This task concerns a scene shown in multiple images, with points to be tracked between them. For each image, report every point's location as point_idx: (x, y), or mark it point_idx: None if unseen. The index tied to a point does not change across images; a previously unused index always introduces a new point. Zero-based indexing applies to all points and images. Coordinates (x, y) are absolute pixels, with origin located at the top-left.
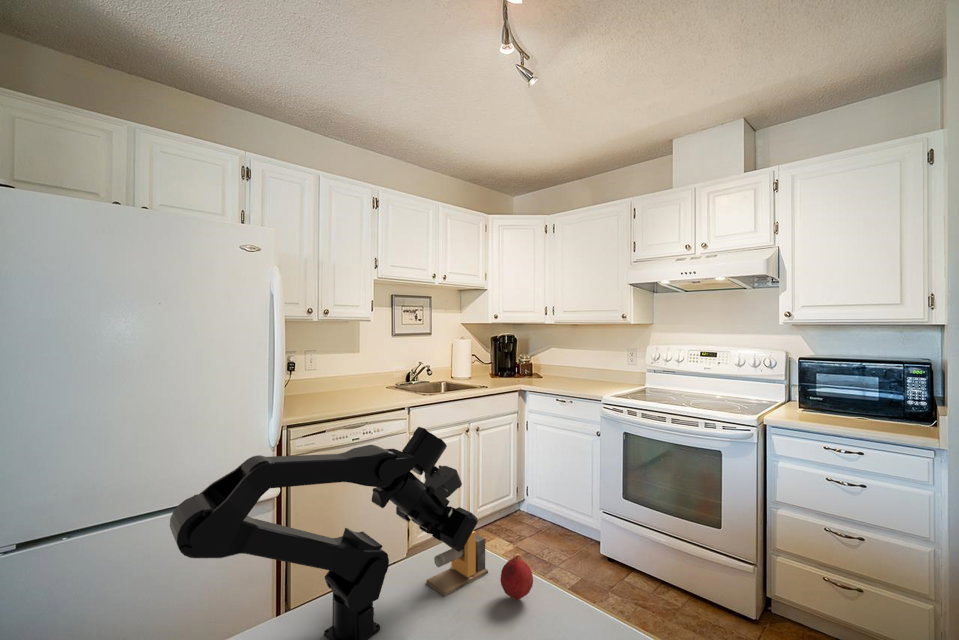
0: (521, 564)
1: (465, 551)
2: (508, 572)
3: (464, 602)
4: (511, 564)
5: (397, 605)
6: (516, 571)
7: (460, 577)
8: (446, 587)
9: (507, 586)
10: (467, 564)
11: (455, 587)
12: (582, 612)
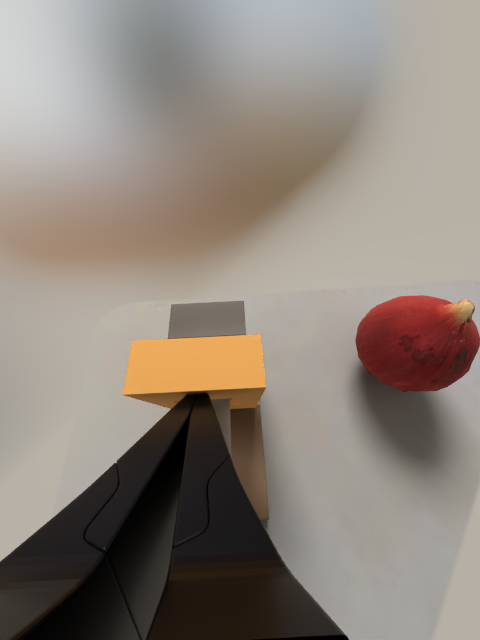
0: (471, 321)
1: (245, 400)
2: (453, 370)
3: (323, 478)
4: (460, 346)
5: None
6: (474, 351)
7: (234, 419)
8: (247, 490)
9: (436, 390)
10: (255, 404)
11: (264, 465)
12: (467, 291)
